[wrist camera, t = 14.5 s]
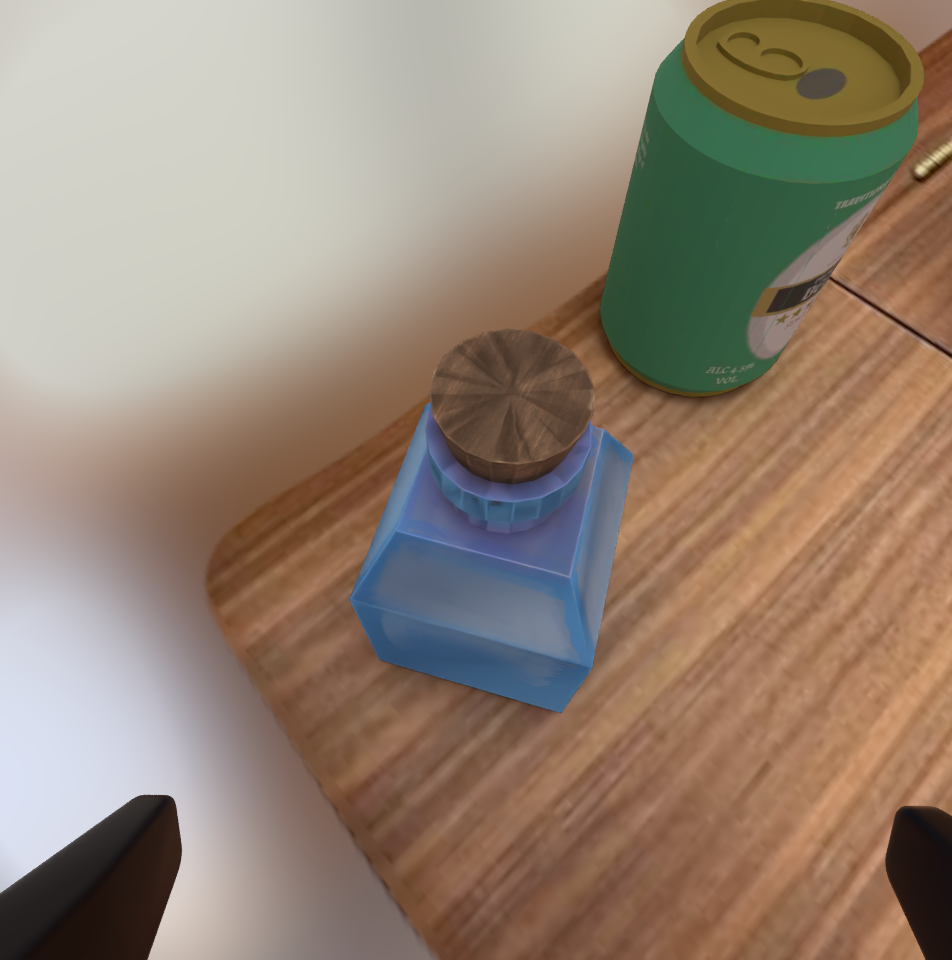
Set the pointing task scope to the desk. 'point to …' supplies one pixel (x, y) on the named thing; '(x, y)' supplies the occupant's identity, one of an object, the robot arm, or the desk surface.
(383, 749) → the desk surface
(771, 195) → the beverage can
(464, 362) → the perfume bottle
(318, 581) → the desk surface
